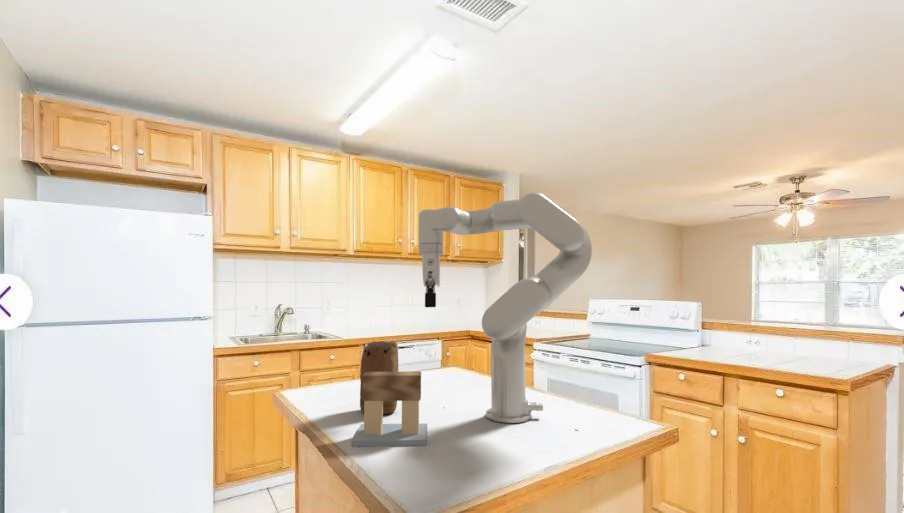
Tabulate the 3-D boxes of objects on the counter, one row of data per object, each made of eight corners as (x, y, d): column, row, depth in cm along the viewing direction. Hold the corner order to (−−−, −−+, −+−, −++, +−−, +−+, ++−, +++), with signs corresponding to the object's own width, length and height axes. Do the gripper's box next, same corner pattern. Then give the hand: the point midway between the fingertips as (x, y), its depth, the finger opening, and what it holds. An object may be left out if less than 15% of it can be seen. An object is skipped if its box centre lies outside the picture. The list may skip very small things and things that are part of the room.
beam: (421, 395, 111) (421, 371, 112) (420, 400, 107) (420, 375, 107) (364, 396, 111) (365, 371, 111) (361, 400, 106) (362, 375, 107)
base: (427, 428, 114) (427, 391, 115) (426, 445, 102) (426, 404, 103) (361, 428, 114) (361, 392, 114) (352, 446, 102) (352, 405, 102)
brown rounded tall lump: (399, 408, 132) (400, 341, 133) (393, 416, 125) (394, 344, 126) (364, 407, 133) (365, 340, 134) (356, 415, 126) (357, 343, 127)
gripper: (443, 248, 128) (443, 307, 127) (442, 252, 145) (442, 304, 144) (417, 248, 127) (417, 308, 126) (419, 252, 144) (419, 304, 144)
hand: (430, 306), depth 135 cm, fingers open, 9 cm apart
